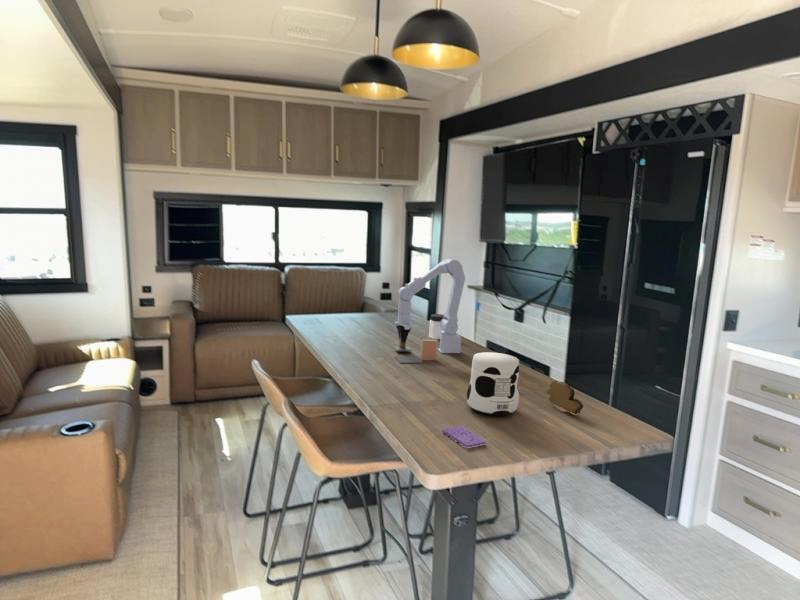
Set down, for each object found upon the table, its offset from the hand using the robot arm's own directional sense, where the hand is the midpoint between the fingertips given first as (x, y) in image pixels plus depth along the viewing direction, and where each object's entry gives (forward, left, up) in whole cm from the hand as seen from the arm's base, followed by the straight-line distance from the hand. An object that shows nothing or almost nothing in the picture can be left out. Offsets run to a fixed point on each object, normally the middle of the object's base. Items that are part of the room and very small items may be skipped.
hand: (402, 341), depth 250 cm
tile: (-8, +15, -5) cm, 18 cm away
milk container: (-12, +77, -5) cm, 78 cm away
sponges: (+6, +98, -5) cm, 99 cm away
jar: (-26, -27, -5) cm, 38 cm away
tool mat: (+1, +16, -5) cm, 17 cm away
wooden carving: (-37, +80, -5) cm, 88 cm away
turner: (0, +2, -4) cm, 4 cm away
